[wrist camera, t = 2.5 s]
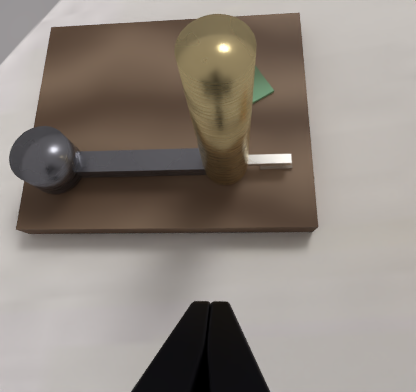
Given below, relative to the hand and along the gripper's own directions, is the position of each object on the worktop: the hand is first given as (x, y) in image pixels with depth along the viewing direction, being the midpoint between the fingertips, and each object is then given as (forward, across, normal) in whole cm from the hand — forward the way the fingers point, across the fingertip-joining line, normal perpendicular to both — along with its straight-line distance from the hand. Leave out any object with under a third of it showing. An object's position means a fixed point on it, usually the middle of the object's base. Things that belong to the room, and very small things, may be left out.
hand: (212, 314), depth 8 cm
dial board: (+18, +4, +1) cm, 19 cm away
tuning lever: (+14, +4, +2) cm, 15 cm away
